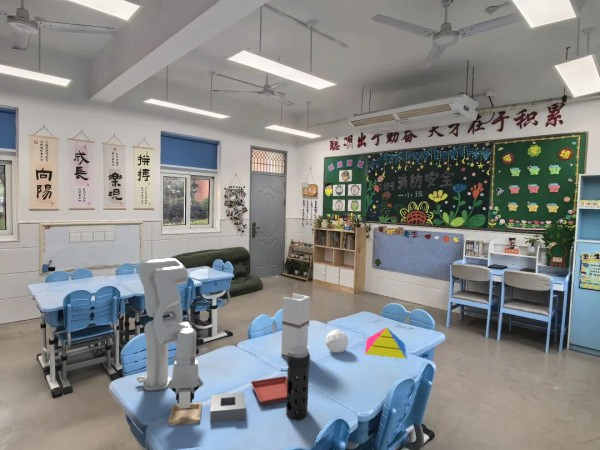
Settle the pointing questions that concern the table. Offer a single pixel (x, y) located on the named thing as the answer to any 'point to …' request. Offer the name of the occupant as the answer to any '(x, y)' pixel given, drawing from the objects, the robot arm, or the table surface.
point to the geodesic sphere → (336, 341)
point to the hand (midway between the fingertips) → (185, 400)
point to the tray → (185, 414)
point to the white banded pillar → (295, 322)
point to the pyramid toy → (385, 345)
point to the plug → (184, 397)
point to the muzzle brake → (297, 382)
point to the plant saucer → (271, 389)
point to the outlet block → (227, 407)
